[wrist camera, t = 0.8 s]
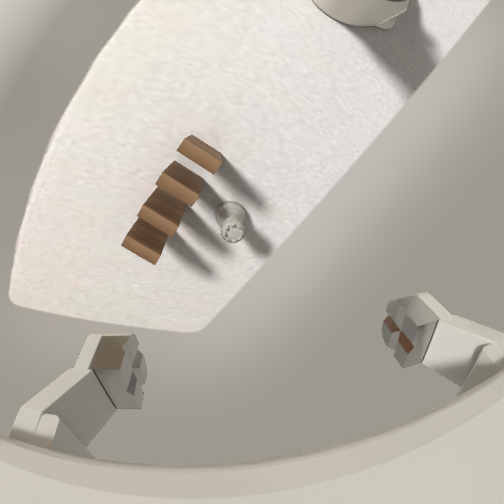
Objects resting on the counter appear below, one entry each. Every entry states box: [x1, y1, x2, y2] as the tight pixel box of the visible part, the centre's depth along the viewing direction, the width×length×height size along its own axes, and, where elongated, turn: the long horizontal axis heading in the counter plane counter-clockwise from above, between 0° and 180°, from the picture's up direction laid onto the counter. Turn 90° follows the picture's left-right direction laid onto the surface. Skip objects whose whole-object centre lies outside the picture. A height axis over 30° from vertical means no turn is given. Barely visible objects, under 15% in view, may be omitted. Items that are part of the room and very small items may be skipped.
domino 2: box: [156, 161, 203, 207], centre depth 36 cm, size 2×5×10 cm, turn 54°
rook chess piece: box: [216, 201, 246, 243], centre depth 41 cm, size 4×4×8 cm
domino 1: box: [177, 135, 222, 174], centre depth 35 cm, size 2×5×10 cm, turn 54°
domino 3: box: [137, 186, 186, 237], centre depth 38 cm, size 2×5×10 cm, turn 54°
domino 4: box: [121, 218, 168, 265], centre depth 39 cm, size 2×5×10 cm, turn 54°
